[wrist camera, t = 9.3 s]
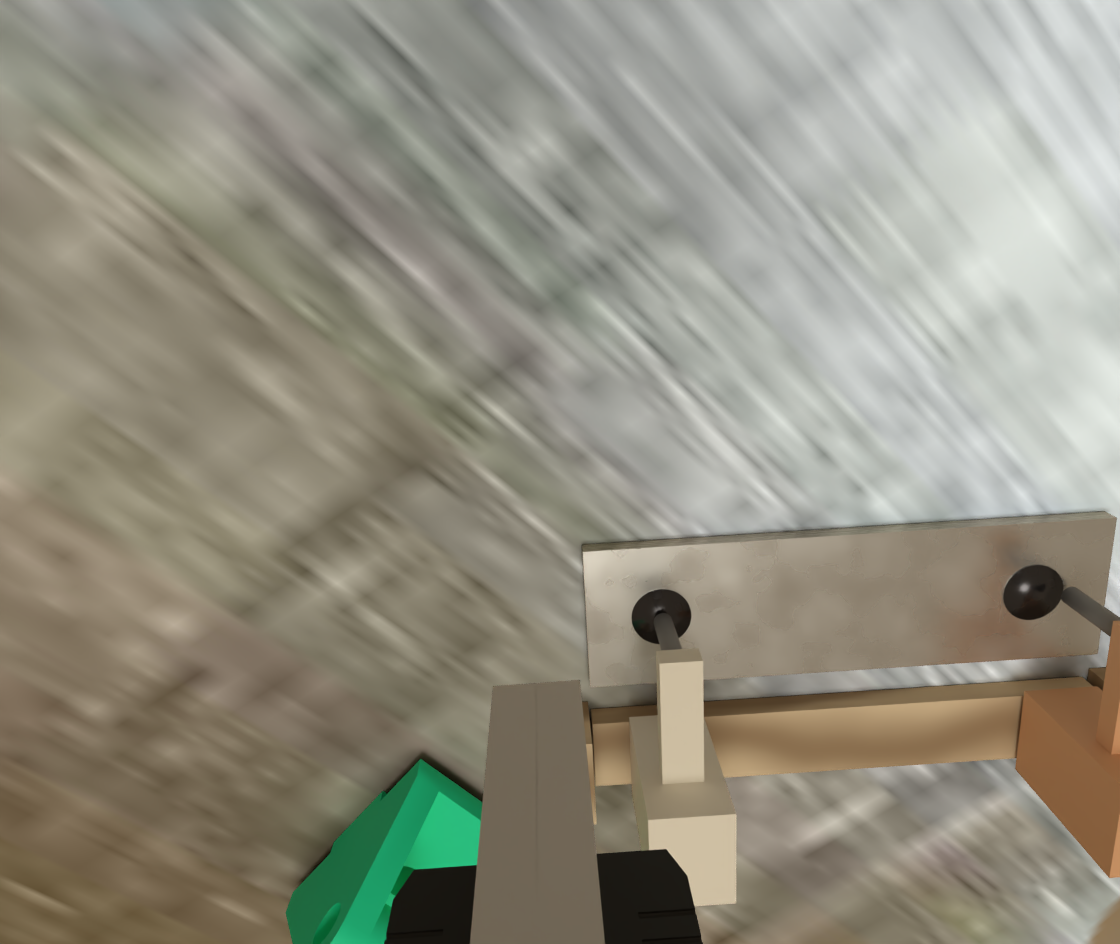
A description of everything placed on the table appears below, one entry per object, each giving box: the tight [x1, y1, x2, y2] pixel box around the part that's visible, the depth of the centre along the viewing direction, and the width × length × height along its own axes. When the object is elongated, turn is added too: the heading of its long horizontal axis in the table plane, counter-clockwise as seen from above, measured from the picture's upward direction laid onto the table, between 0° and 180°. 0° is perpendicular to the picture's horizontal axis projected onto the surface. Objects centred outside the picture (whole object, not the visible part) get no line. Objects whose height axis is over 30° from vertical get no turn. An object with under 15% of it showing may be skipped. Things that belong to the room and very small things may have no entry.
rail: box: [582, 667, 1106, 824], centre depth 47 cm, size 5×32×4 cm, turn 93°
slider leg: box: [1015, 587, 1120, 878], centre depth 42 cm, size 12×4×8 cm, turn 3°
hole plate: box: [582, 511, 1117, 687], centre depth 46 cm, size 8×28×1 cm, turn 93°
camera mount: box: [286, 759, 482, 944], centre depth 46 cm, size 12×8×10 cm, turn 139°
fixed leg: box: [629, 613, 736, 906], centre depth 42 cm, size 12×4×8 cm, turn 3°
